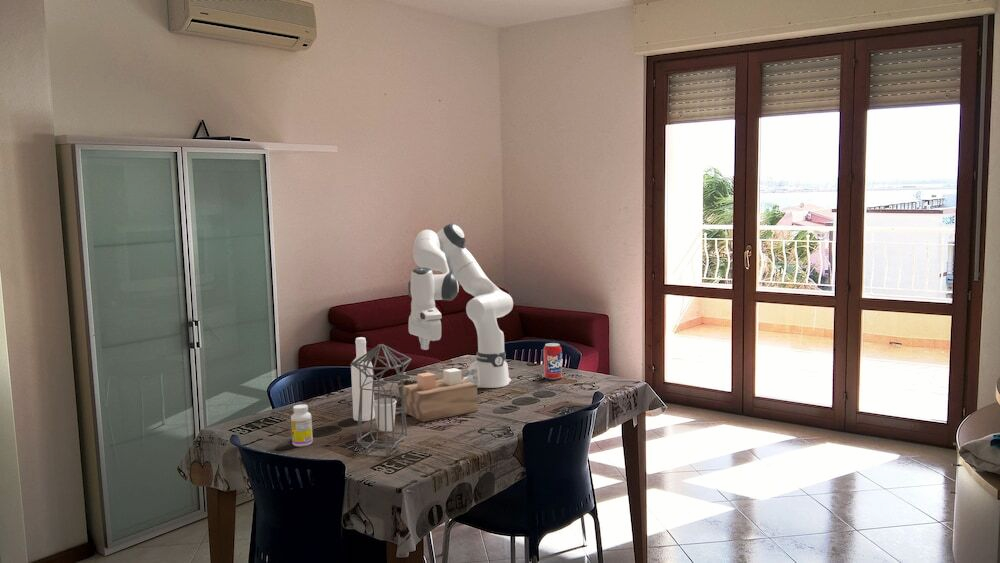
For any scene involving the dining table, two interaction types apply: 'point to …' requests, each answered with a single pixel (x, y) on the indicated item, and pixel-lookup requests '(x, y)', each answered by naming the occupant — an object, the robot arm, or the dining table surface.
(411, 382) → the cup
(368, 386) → the bottle
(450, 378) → the white rectangular block
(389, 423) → the dixie cup
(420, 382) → the peg terracotta
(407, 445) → the dining table surface
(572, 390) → the dining table surface
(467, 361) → the dining table surface
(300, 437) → the supplement bottle
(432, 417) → the light wood block
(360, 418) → the geometric lantern
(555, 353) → the soda can
